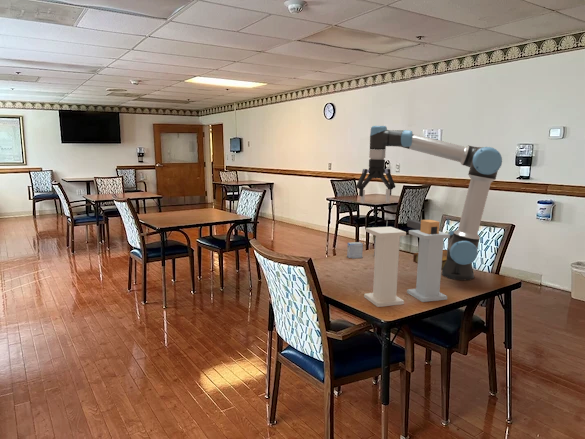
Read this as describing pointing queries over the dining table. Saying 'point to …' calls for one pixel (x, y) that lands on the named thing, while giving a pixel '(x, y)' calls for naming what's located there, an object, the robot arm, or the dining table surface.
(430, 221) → the orange and black bar
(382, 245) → the stand
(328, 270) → the dining table surface
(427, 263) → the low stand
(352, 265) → the dining table surface
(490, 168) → the robot arm
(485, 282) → the dining table surface
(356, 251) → the medicine box
